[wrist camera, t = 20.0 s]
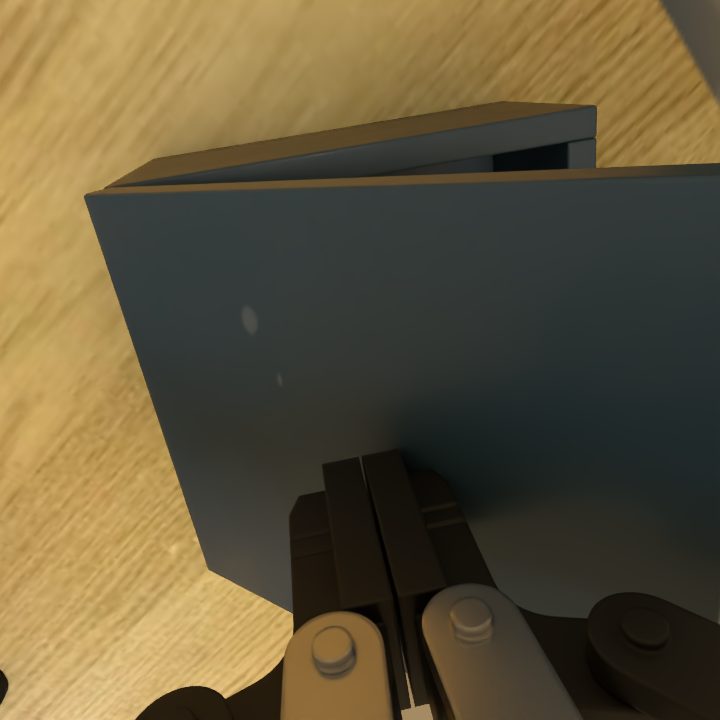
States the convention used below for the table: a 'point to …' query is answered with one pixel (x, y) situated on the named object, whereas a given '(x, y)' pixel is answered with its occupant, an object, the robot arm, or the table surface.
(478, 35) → the table surface
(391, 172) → the box
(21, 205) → the table surface
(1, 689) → the figurine
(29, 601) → the table surface
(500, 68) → the table surface
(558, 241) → the lid
